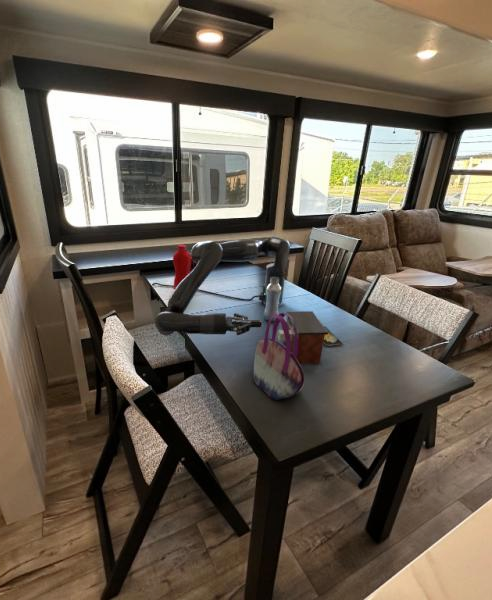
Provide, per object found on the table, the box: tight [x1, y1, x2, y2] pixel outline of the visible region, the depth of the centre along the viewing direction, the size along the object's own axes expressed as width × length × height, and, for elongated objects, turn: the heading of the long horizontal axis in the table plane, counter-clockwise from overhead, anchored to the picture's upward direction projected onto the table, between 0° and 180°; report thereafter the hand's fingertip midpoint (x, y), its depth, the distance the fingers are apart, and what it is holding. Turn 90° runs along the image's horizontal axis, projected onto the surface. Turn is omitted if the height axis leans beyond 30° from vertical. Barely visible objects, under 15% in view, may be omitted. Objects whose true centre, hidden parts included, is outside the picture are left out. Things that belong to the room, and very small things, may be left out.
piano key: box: [277, 329, 293, 342], centre depth 114 cm, size 6×3×3 cm, turn 94°
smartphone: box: [323, 325, 343, 347], centre depth 128 cm, size 7×1×15 cm
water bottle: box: [172, 244, 195, 290], centre depth 167 cm, size 9×11×25 cm
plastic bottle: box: [263, 277, 281, 322], centre depth 137 cm, size 6×7×20 cm
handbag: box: [253, 312, 306, 401], centre depth 94 cm, size 21×10×25 cm, turn 31°
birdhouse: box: [284, 310, 328, 365], centre depth 115 cm, size 10×17×13 cm, turn 4°
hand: (260, 323), depth 111 cm, fingers closed
